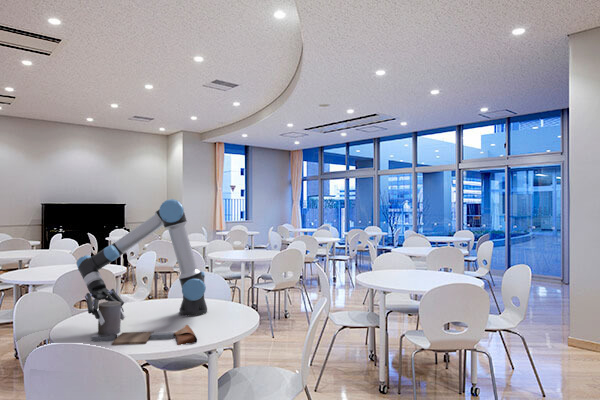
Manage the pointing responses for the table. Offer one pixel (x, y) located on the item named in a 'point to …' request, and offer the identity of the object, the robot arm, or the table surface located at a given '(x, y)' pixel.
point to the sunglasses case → (185, 336)
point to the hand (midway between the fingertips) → (113, 320)
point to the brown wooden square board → (132, 338)
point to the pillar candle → (110, 317)
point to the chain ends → (113, 336)
